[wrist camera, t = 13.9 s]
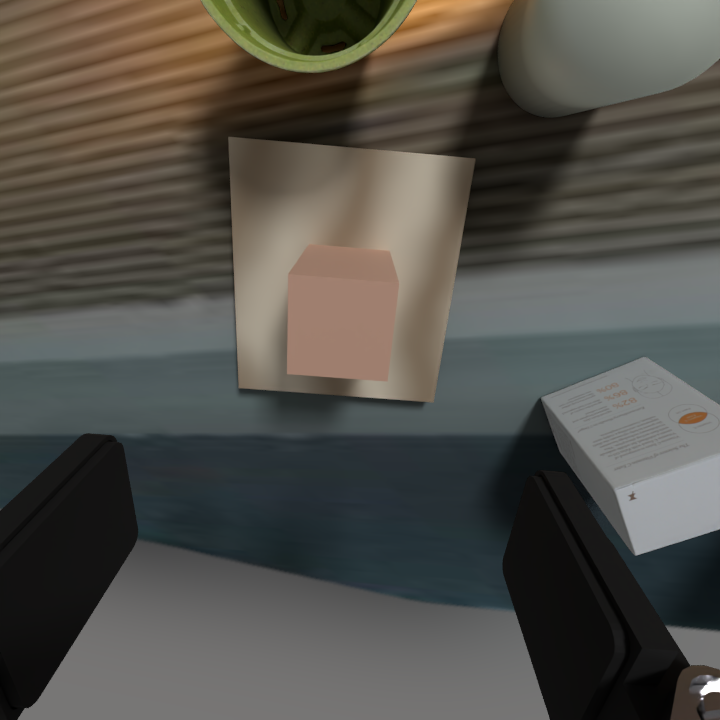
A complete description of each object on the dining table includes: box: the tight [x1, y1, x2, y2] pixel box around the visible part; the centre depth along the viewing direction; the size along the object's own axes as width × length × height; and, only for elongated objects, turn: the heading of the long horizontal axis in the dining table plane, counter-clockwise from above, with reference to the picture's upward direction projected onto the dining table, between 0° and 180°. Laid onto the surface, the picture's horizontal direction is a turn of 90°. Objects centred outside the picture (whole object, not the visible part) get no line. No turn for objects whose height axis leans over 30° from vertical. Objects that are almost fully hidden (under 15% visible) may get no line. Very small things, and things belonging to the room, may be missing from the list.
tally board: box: [228, 137, 475, 402], centre depth 28 cm, size 14×16×2 cm
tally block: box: [287, 244, 399, 382], centre depth 24 cm, size 5×5×8 cm
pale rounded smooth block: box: [498, 0, 720, 118], centre depth 19 cm, size 7×7×9 cm
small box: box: [541, 357, 720, 556], centre depth 28 cm, size 8×6×10 cm
